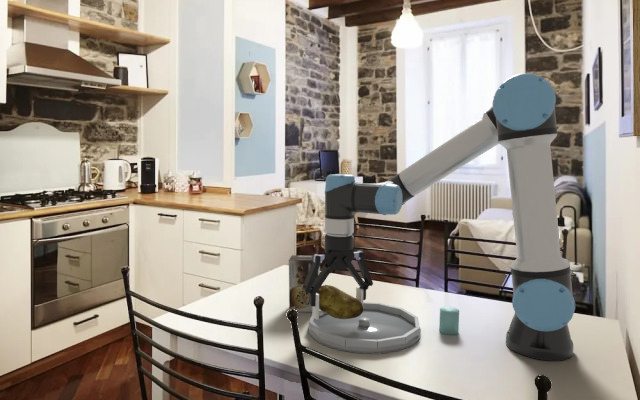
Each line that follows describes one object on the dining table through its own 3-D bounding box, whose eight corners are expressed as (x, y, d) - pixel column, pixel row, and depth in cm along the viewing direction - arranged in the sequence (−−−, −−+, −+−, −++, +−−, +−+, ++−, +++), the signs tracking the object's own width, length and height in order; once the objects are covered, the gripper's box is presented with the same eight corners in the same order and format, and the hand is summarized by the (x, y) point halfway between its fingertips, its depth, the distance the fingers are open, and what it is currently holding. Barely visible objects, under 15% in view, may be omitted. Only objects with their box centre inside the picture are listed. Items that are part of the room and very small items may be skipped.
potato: (352, 326, 117) (352, 294, 116) (308, 316, 124) (308, 286, 123) (365, 316, 124) (366, 286, 124) (323, 307, 131) (323, 279, 130)
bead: (462, 333, 125) (463, 311, 125) (446, 336, 124) (447, 313, 123) (450, 326, 130) (451, 305, 129) (435, 329, 128) (436, 308, 128)
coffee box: (320, 306, 147) (321, 255, 145) (318, 313, 141) (318, 260, 139) (291, 304, 148) (291, 254, 146) (288, 311, 141) (288, 259, 140)
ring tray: (444, 342, 119) (444, 331, 119) (336, 361, 108) (336, 349, 108) (384, 306, 147) (384, 297, 146) (293, 318, 135) (293, 308, 135)
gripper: (373, 229, 130) (371, 305, 132) (290, 234, 121) (289, 315, 123) (387, 233, 123) (385, 313, 125) (299, 239, 114) (299, 325, 116)
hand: (337, 315), depth 124 cm, fingers closed on potato, 12 cm apart
